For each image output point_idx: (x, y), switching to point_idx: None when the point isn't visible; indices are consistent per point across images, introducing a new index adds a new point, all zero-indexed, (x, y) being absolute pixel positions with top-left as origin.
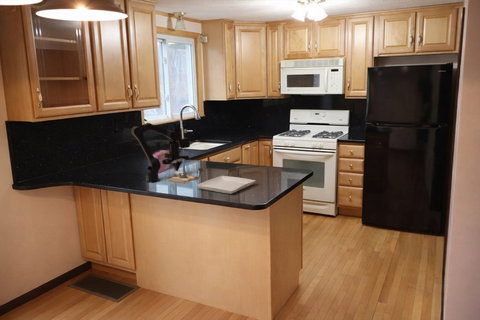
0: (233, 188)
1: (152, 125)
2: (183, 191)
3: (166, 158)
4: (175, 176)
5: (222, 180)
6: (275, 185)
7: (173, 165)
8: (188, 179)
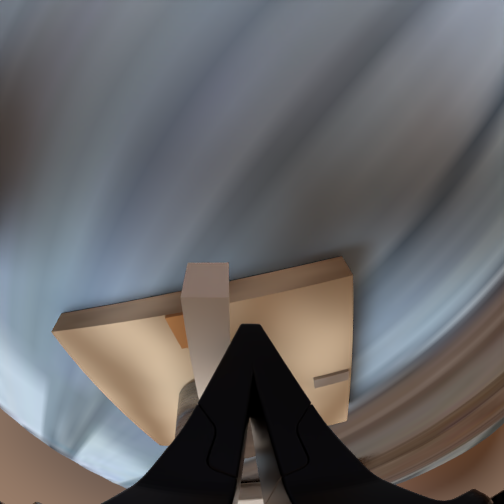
0: (263, 502)
1: None
2: (104, 463)
3: None
4: (173, 323)
5: None
6: None
7: (166, 456)
8: None
